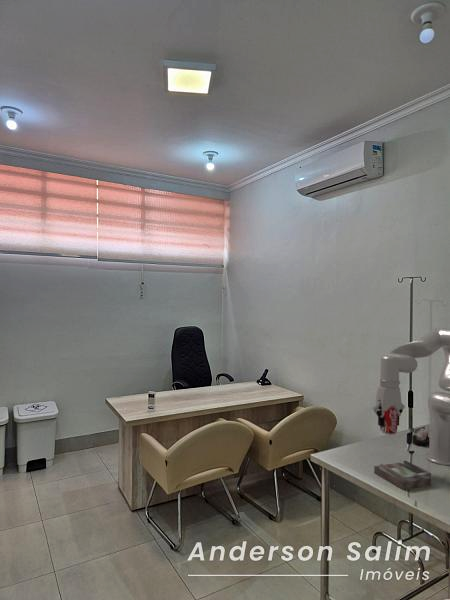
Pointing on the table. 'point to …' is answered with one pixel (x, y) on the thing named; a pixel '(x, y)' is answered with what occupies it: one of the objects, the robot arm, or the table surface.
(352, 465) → the table surface
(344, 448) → the table surface
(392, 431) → the soda can
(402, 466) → the frame
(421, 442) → the caster wheel
